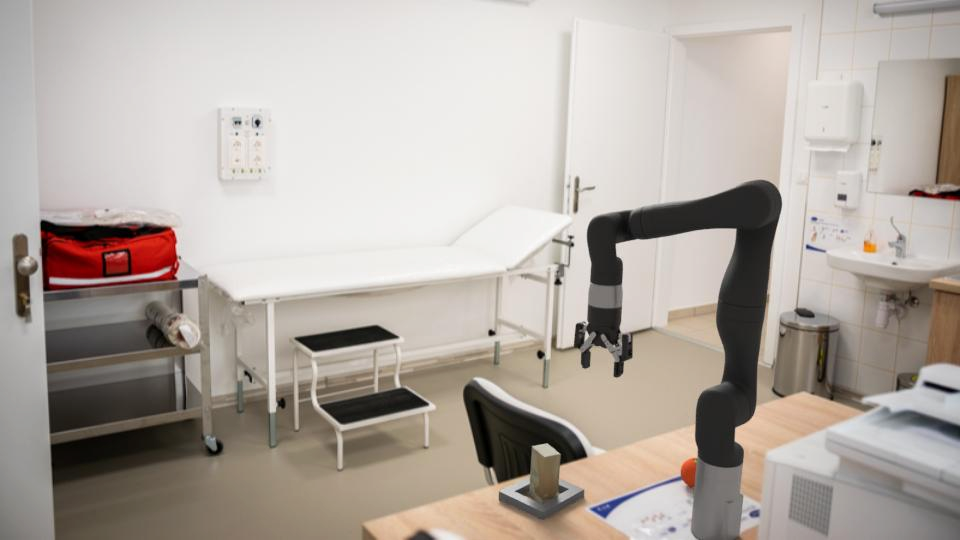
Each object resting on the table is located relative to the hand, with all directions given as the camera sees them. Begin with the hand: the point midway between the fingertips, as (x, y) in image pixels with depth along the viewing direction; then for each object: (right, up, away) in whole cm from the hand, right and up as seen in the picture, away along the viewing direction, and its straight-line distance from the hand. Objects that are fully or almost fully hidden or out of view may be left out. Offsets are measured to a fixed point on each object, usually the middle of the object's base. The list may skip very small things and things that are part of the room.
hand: (601, 372), depth 179 cm
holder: (-13, -29, +3) cm, 32 cm away
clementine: (+24, -29, +11) cm, 39 cm away
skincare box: (-13, -30, +3) cm, 33 cm away
